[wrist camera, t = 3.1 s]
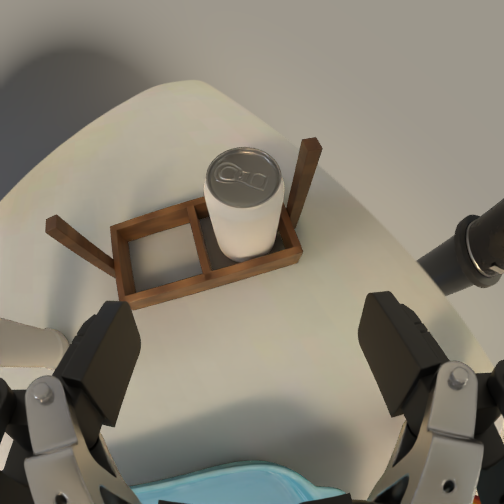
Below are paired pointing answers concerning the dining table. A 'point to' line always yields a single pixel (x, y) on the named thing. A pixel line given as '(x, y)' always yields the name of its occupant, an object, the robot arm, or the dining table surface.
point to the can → (244, 202)
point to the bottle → (30, 345)
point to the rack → (192, 214)
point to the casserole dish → (235, 486)
